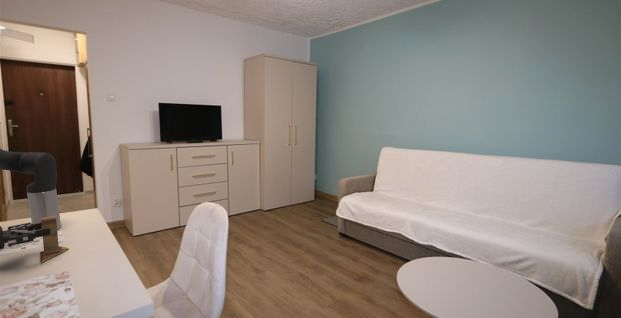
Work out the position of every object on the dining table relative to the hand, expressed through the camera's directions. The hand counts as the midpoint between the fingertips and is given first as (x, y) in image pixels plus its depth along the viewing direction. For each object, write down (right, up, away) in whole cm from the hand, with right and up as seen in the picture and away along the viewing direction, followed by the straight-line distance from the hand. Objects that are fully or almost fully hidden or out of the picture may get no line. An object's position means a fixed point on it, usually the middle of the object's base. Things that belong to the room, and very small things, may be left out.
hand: (49, 227), depth 108 cm
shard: (0, -11, +2) cm, 11 cm away
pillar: (-1, -9, +2) cm, 9 cm away
